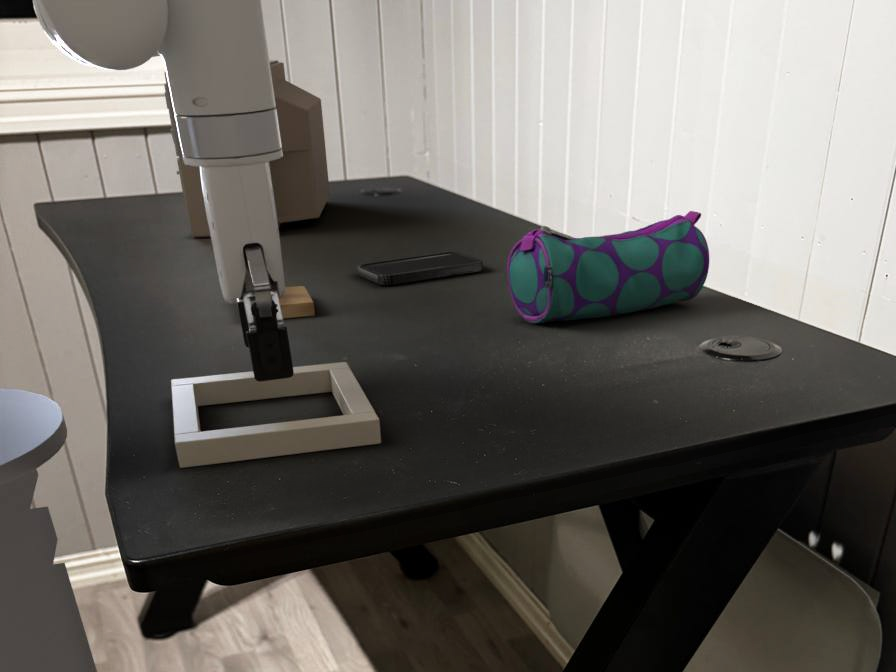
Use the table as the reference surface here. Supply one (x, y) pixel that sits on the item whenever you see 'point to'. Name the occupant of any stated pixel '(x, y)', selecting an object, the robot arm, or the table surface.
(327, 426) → the white square frame
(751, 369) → the table surface
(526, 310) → the pencil case
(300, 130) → the television
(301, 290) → the wooden base with peg
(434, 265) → the phone
